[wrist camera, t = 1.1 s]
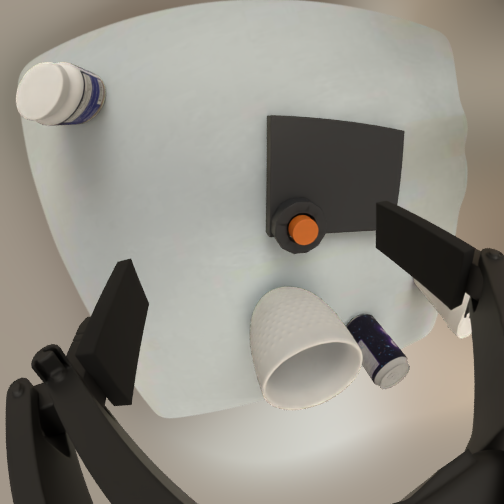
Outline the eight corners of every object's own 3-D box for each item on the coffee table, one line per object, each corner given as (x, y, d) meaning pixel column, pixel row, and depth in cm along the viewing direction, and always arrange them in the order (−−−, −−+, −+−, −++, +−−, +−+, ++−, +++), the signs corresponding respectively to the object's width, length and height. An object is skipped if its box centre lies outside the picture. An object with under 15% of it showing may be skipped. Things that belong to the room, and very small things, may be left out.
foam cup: (405, 302, 43) (451, 348, 31) (406, 257, 38) (463, 303, 27) (443, 279, 43) (489, 318, 31) (445, 236, 39) (501, 272, 27)
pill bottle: (51, 106, 21) (0, 104, 12) (84, 64, 20) (41, 43, 11) (83, 134, 24) (37, 141, 15) (117, 91, 23) (82, 76, 14)
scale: (265, 242, 33) (273, 255, 30) (266, 115, 27) (276, 114, 24) (384, 234, 36) (399, 244, 33) (396, 129, 30) (413, 132, 27)
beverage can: (358, 341, 44) (393, 391, 33) (335, 335, 42) (369, 390, 31) (377, 315, 42) (418, 363, 31) (355, 307, 40) (397, 360, 30)
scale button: (287, 240, 30) (292, 246, 28) (288, 215, 29) (293, 219, 27) (311, 238, 30) (317, 244, 29) (313, 214, 29) (319, 218, 28)
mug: (301, 354, 42) (332, 419, 31) (232, 358, 40) (248, 432, 28) (327, 272, 36) (379, 334, 25) (245, 269, 34) (273, 343, 22)
